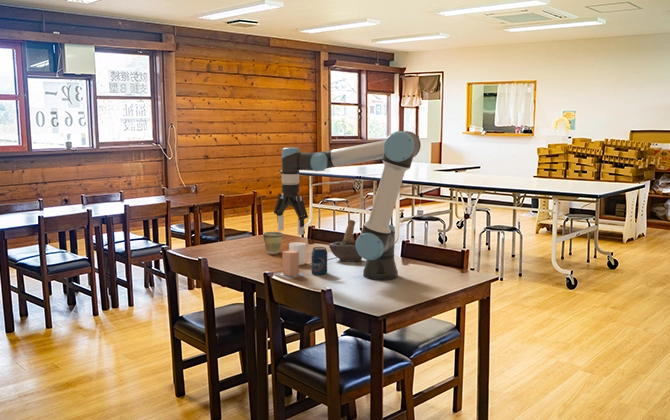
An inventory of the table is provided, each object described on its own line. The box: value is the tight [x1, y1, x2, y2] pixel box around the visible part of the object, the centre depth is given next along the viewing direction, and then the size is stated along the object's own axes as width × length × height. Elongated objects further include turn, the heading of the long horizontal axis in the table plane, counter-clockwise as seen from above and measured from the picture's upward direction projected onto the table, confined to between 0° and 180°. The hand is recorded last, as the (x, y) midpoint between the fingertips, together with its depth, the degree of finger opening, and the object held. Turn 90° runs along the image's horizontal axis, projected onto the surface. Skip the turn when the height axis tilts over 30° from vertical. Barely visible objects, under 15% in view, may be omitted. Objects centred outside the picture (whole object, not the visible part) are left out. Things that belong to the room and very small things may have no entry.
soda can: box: [310, 246, 328, 276], centre depth 274 cm, size 7×7×12 cm
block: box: [282, 250, 300, 276], centre depth 272 cm, size 5×5×10 cm
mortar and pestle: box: [328, 219, 363, 262], centre depth 304 cm, size 15×17×20 cm
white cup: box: [288, 241, 307, 266], centre depth 294 cm, size 8×8×10 cm
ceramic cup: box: [262, 231, 284, 255], centre depth 323 cm, size 13×10×10 cm
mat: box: [273, 271, 308, 280], centre depth 273 cm, size 12×11×1 cm
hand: (290, 232), depth 272 cm, fingers open, 13 cm apart
